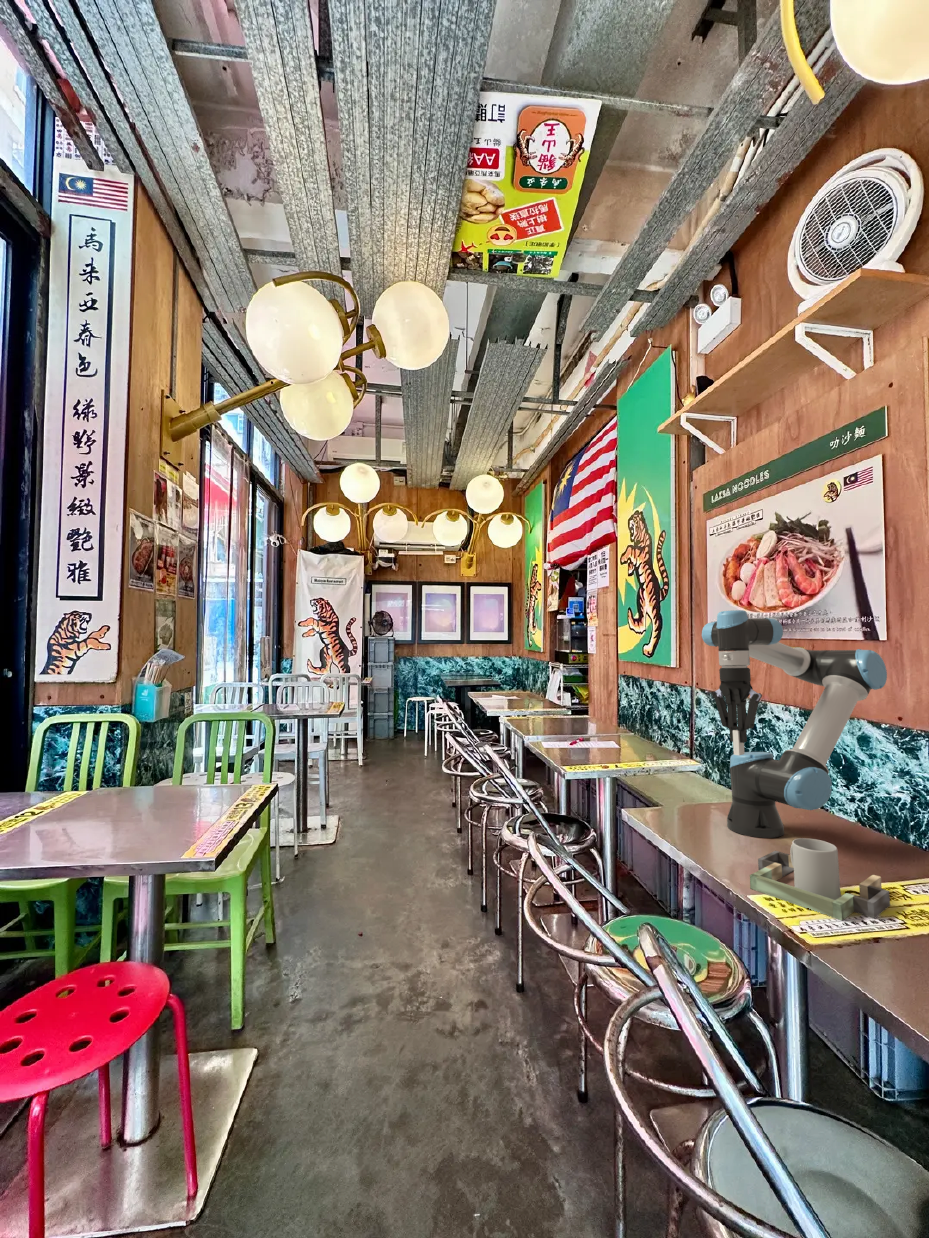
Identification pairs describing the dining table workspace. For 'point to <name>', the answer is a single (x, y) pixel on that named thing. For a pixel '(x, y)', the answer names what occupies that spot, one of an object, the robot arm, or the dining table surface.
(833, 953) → the dining table surface
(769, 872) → the grey-green u-shaped bracket
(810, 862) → the mug
